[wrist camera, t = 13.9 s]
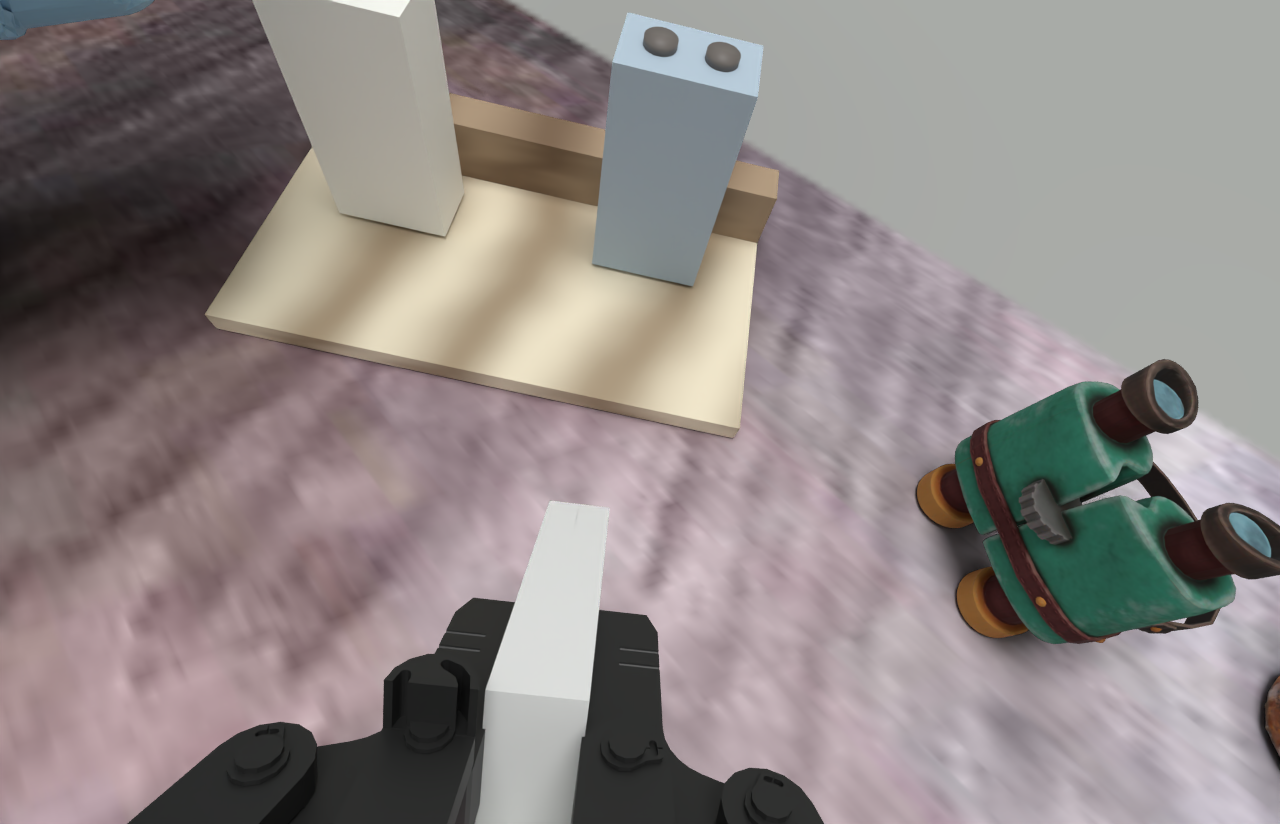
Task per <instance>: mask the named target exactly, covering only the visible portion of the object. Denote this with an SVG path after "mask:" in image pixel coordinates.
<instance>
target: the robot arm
mask: <svg viewBox="0 0 1280 824" xmlns="http://www.w3.org/2000/svg"><path fill="white" fill-rule="evenodd" d="M153 1H154V0H0V40H14V39H16V38H18V37H20V36H22V35H25V33H26V30H27V29H28V28H35V27H42V26H50V25H57V24H65V23H72V22H80V21H87V20H94V19H102V18H109V17H117V16H124V15H130V14H133V13H136V12H139V11H141V10H143V9H144V8H146V7H147V6H149V5H150V4H151V3H152V2H153ZM608 518H609V508H608V507H600V506H591V505H583V504H574V503H566V502H558V501H550V502H549V505H548V508H547V511H546V514H545V516H544V519H543V522H542V525H541V528H540V531H539V534H538V537H537V540H536V543H535V546H534V549H533V552H532V555H531V558H530V560H529V563H528V566H527V569H526V572H525V575H524V578H523V581H522V584H521V587H520V590H519V593H518V596H517V599H516V602H507V601H498V600H489V599H480V598H472V599H471V600H470V601H469V602H467V603H466V604H465V605H464V606H462V607H461V608H460V609H459V610H457V611H456V612H455V614H454V616H453V618H452V620H451V622H450V624H449V626H448V628H447V631H446V633H445V634H444V636H443V638H442V640H441V642H440V644H439V648H437V650H436V652H435V654H426V655H423V656H419V657H415V658H412V659H409V660H407V661H406V662H404V663H402V664H400V665H399V666H397V667H395V668H394V669H393V670H392V671H391V673H390V674H389V675H388V676H387V677H386V678H385V679H384V705H383V729H382V731H380V732H378V733H376V734H373V735H371V736H369V737H366V738H362V739H358V740H354V741H350V742H344V743H337V744H331V745H325V746H319V747H317V743H316V741H315V739H314V737H313V735H312V732H310V731H309V730H307V729H305V728H304V727H302V726H300V725H299V724H292V723H285V722H277V723H270V724H264V725H258V726H256V727H253V728H251V729H248V730H246V731H243V732H240V733H238V734H236V735H235V736H233V737H232V738H230V739H229V740H227V741H226V742H224V743H223V744H221V745H220V746H218V747H217V748H216V749H215V750H213V751H212V752H211V753H210V754H209V755H208V756H206V757H205V758H204V759H203V760H202V761H200V762H199V763H198V764H197V765H196V766H195V767H193V768H192V769H191V770H190V771H189V772H188V773H186V774H185V775H184V776H183V777H182V778H180V779H179V780H178V781H177V782H176V783H175V784H173V785H172V786H171V787H170V788H169V789H168V790H166V791H165V792H164V793H163V794H162V795H160V796H159V797H158V798H157V799H156V800H155V801H153V802H152V803H151V804H150V805H149V806H148V807H146V808H145V809H144V810H143V811H142V812H141V813H139V814H138V815H137V816H136V817H135V818H133V819H132V820H131V821H130V822H129V823H128V824H474V823H475V824H824V823H823V821H822V819H821V817H820V816H819V814H818V812H817V810H816V808H815V807H814V805H813V803H812V802H811V801H810V799H809V798H808V797H807V795H806V794H805V793H804V792H803V790H802V789H801V788H800V787H799V786H797V785H796V784H795V783H793V782H792V781H791V780H789V779H788V778H787V777H785V776H783V775H781V774H778V773H776V772H773V771H771V770H768V769H759V768H748V769H745V770H742V771H738V772H735V773H734V774H733V775H732V776H731V777H730V778H729V779H728V780H727V781H726V782H725V784H724V783H722V782H719V781H717V780H714V779H712V778H709V777H707V776H705V775H702V774H700V773H698V772H696V771H694V770H692V769H690V768H689V767H688V766H686V765H685V764H684V763H682V762H681V761H680V760H679V759H678V758H677V757H676V756H675V755H674V753H673V752H672V751H671V750H670V748H669V746H668V744H667V742H666V740H665V737H664V733H663V726H662V707H661V689H660V670H659V655H658V633H657V631H656V629H655V628H654V626H653V625H652V623H651V622H650V620H649V618H648V617H647V615H639V614H630V613H621V612H612V611H603V610H599V604H600V595H601V585H602V575H603V566H604V556H605V546H606V537H607V527H608ZM475 819H476V822H475Z"/></svg>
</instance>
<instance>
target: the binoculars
mask: <svg viewBox="0 0 1280 824" xmlns="http://www.w3.org/2000/svg"><path fill="white" fill-rule="evenodd" d="M1197 412H1198V396H1197V390H1196V386H1195V385H1194V383H1193V381H1192V379H1191V377H1190V376H1189V374H1188V373H1187V372H1186V371H1185V370H1184V369H1183V368H1182V367H1181V366H1180V365H1179V364H1177V363H1176V362H1173V361H1171V360H1165V359H1163V360H1158V361H1156V362H1155V363H1153V364H1151V365H1150V366H1147V367H1146V368H1144V369H1142V370H1140V371H1138V372H1136V373H1134V374H1133V375H1131V376H1129V377H1127V378H1126V379H1124V381H1123V382H1122V386H1121V390H1119V389H1118V388H1116V387H1115V386H1113V385H1111V384H1108V383H1103V382H1081V383H1078V384H1075V385H1072V386H1069V387H1067V388H1065V389H1063V390H1061V391H1059V392H1057V393H1055V394H1053V395H1051V396H1049V397H1047V398H1045V399H1043V400H1041V401H1039V402H1037V403H1035V404H1033V405H1031V406H1029V407H1026V408H1024V409H1022V410H1020V411H1018V412H1016V413H1014V414H1012V415H1010V416H1008V417H1006V418H1004V419H1002V420H994V421H991V422H988V423H986V424H985V425H983V426H981V427H980V428H978V429H976V430H975V431H974V432H973V434H972V436H970V437H968V438H966V439H964V440H963V441H961V442H960V444H959V445H958V446H957V448H956V451H955V464H945V465H943V466H940V467H939V468H937V469H935V470H933V471H931V472H929V473H928V474H926V475H925V476H924V477H923V478H922V479H921V480H920V482H919V484H918V487H917V497H918V501H919V504H920V506H921V508H922V510H923V511H924V513H925V514H926V515H927V516H928V517H929V518H930V519H932V520H933V521H934V522H936V523H938V524H940V525H942V526H945V527H949V528H961V527H965V526H967V525H969V524H972V523H974V524H975V526H976V528H977V530H978V532H979V534H982V535H984V534H988V533H991V532H993V531H996V530H998V533H999V534H996V535H993V536H991V537H988V538H986V539H985V540H984V541H983V544H984V547H985V550H986V552H987V555H988V558H989V560H990V563H991V567H986V568H983V569H979V570H976V571H973V572H971V573H969V574H967V575H966V576H965V577H964V578H963V579H962V580H961V582H960V583H959V586H958V589H957V602H958V606H959V609H960V612H961V614H962V615H963V617H964V619H965V620H966V621H967V623H968V624H969V625H970V626H971V627H972V628H974V629H975V630H976V631H977V632H979V633H981V634H983V635H985V636H989V637H992V638H1002V637H1008V636H1013V635H1018V634H1022V633H1024V632H1026V631H1028V630H1030V632H1031V633H1032V634H1034V635H1035V636H1036V637H1037V638H1039V639H1041V640H1042V641H1044V642H1048V643H1051V644H1061V643H1067V642H1068V643H1077V644H1081V643H1088V642H1095V641H1096V642H1099V643H1103V642H1104V641H1105V639H1106V638H1110V637H1113V636H1116V635H1119V634H1120V633H1121V632H1123V631H1128V630H1132V629H1139V630H1141V631H1145V632H1148V633H1164V634H1166V633H1168V632H1171V631H1177V630H1184V629H1192V628H1197V627H1202V626H1206V625H1211V624H1213V623H1214V621H1215V619H1216V617H1217V615H1218V613H1219V611H1220V609H1221V608H1222V607H1225V606H1227V605H1228V604H1230V603H1232V602H1233V600H1234V599H1235V593H1236V587H1235V585H1234V582H1233V579H1232V577H1231V574H1236V575H1238V576H1240V577H1242V578H1246V579H1259V578H1265V577H1270V576H1276V575H1280V526H1279V525H1278V524H1276V523H1275V522H1273V521H1272V520H1271V519H1269V518H1268V517H1266V516H1264V515H1263V514H1261V513H1260V512H1258V511H1256V510H1253V509H1251V508H1249V507H1246V506H1243V505H1240V504H1235V503H1225V504H1222V505H1219V506H1215V507H1212V508H1209V509H1207V510H1206V511H1204V512H1203V514H1202V516H1201V520H1197V518H1196V517H1195V515H1194V513H1193V512H1192V510H1191V509H1190V507H1189V506H1188V504H1187V502H1186V501H1185V500H1184V498H1183V497H1182V496H1181V494H1180V493H1179V492H1178V490H1177V489H1176V488H1175V486H1174V485H1173V484H1172V483H1171V481H1170V480H1169V479H1168V477H1167V476H1166V475H1165V474H1164V473H1163V472H1162V471H1161V470H1160V469H1159V467H1158V466H1157V465H1156V464H1155V463H1154V462H1153V453H1152V449H1151V446H1150V443H1149V441H1148V439H1147V437H1146V435H1148V434H1151V433H1153V432H1155V431H1156V432H1159V433H1163V434H1169V433H1173V432H1176V431H1178V430H1181V429H1183V428H1186V427H1188V426H1189V425H1191V424H1192V422H1193V421H1194V420H1195V418H1196V415H1197ZM1136 479H1137V480H1138V481H1139V482H1140V483H1141V484H1142V485H1143V487H1144V488H1145V489H1146V491H1147V492H1148V493H1149V495H1150V496H1151V497H1150V498H1145V499H1141V500H1138V501H1134V500H1132V499H1130V498H1128V497H1126V496H1121V495H1120V496H1115V497H1110V498H1105V499H1101V500H1098V501H1095V502H1091V503H1088V504H1085V505H1082V502H1084V501H1087V500H1089V499H1092V498H1094V497H1096V496H1099V495H1101V494H1103V493H1106V492H1108V491H1110V490H1113V489H1115V488H1117V487H1120V486H1122V485H1125V484H1127V483H1129V482H1132V481H1134V480H1136ZM1022 524H1023V525H1022ZM1019 525H1021V526H1019ZM1017 526H1018V527H1017ZM1183 618H1187V619H1186V621H1185V623H1184V624H1182V623H1176V622H1171V621H1174V620H1178V619H1183Z"/></svg>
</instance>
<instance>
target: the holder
mask: <svg viewBox="0 0 1280 824" xmlns="http://www.w3.org/2000/svg"><path fill="white" fill-rule="evenodd" d="M449 97H450V103H451V110H452V116H453V123H454V129H455V135H456V142H457V148H458V155H459V161H460V167H461V174H462V180H463V187H464V195H463V197H462V199H461V202H460V204H459V206H458V209H457V211H456V213H455V216H454V218H453V220H452V222H451V225H450V227H449V229H448V232H447V234H446V236H440V235H436V234H431V233H427V232H422V231H418V230H413V229H409V228H405V227H400V226H396V225H391V224H387V223H382V222H378V221H373V220H369V219H364V218H360V217H355V216H351V215H347V214H342V213H339V210H338V208H337V206H336V203H335V201H334V198H333V196H332V193H331V191H330V189H329V186H328V184H327V181H326V179H325V176H324V174H323V171H322V169H321V167H320V164H319V162H318V159H317V157H316V154H315V152H314V150H313V147H312V148H311V149H310V151H309V152H308V154H307V156H306V157H305V159H304V160H303V162H302V163H301V165H300V166H299V168H298V170H297V171H296V173H295V174H294V176H293V177H292V179H291V180H290V182H289V184H288V185H287V187H286V188H285V190H284V191H283V193H282V195H281V196H280V198H279V199H278V201H277V202H276V204H275V205H274V207H273V209H272V210H271V212H270V213H269V215H268V216H267V218H266V219H265V221H264V223H263V224H262V226H261V227H260V229H259V230H258V232H257V234H256V235H255V237H254V238H253V240H252V241H251V243H250V244H249V246H248V248H247V249H246V251H245V252H244V254H243V255H242V257H241V258H240V260H239V262H238V263H237V265H236V266H235V268H234V269H233V271H232V273H231V274H230V276H229V277H228V279H227V280H226V282H225V283H224V285H223V287H222V288H221V290H220V291H219V293H218V294H217V296H216V297H215V299H214V301H213V302H212V304H211V305H210V307H209V308H208V310H207V312H206V313H205V316H206V317H207V318H208V319H209V320H210V321H211V323H212V324H213V325H214V326H215V327H216V328H217V329H222V330H227V331H231V332H236V333H241V334H245V335H250V336H255V337H260V338H264V339H269V340H274V341H278V342H283V343H288V344H292V345H297V346H302V347H307V348H311V349H316V350H321V351H325V352H330V353H335V354H339V355H344V356H349V357H354V358H358V359H363V360H368V361H372V362H377V363H382V364H387V365H391V366H396V367H401V368H405V369H410V370H415V371H419V372H424V373H429V374H434V375H438V376H443V377H448V378H452V379H457V380H462V381H466V382H471V383H476V384H481V385H485V386H490V387H495V388H499V389H504V390H509V391H514V392H518V393H523V394H528V395H532V396H537V397H542V398H546V399H551V400H556V401H561V402H565V403H570V404H575V405H579V406H584V407H589V408H593V409H598V410H603V411H608V412H612V413H617V414H622V415H626V416H631V417H636V418H641V419H645V420H650V421H655V422H659V423H664V424H669V425H673V426H678V427H683V428H688V429H692V430H697V431H702V432H706V433H711V434H716V435H720V436H725V437H730V438H734V436H735V435H736V433H737V432H738V430H739V429H740V420H741V409H742V398H743V388H744V377H745V367H746V356H747V345H748V335H749V324H750V313H751V303H752V292H753V282H754V271H755V260H756V250H757V242H758V240H759V238H760V236H761V233H762V231H763V229H764V227H765V224H766V222H767V220H768V218H769V215H770V213H771V211H772V209H773V206H774V204H775V202H776V200H777V190H778V177H779V171H778V170H774V169H769V168H765V167H761V166H757V165H753V164H748V163H744V162H740V161H736V162H735V165H734V168H733V171H732V174H731V177H730V180H729V183H728V186H727V188H726V191H725V194H724V197H723V200H722V203H721V206H720V209H719V212H718V215H717V218H716V221H715V224H714V226H713V229H712V232H711V235H710V238H709V241H708V244H707V247H706V250H705V253H704V256H703V259H702V262H701V264H700V267H699V270H698V273H697V276H696V279H695V282H694V285H693V286H689V285H684V284H680V283H675V282H671V281H666V280H662V279H657V278H653V277H649V276H644V275H640V274H635V273H631V272H626V271H622V270H617V269H613V268H608V267H604V266H600V265H595V264H592V258H593V249H594V239H595V229H596V219H597V209H598V199H599V189H600V180H601V170H602V160H603V150H604V140H605V130H604V129H600V128H596V127H591V126H587V125H583V124H579V123H574V122H570V121H566V120H562V119H557V118H553V117H549V116H545V115H541V114H536V113H532V112H528V111H524V110H519V109H515V108H511V107H507V106H502V105H498V104H494V103H490V102H485V101H481V100H477V99H473V98H468V97H464V96H460V95H456V94H451V93H449Z"/></svg>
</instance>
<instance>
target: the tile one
mask: <svg viewBox="0 0 1280 824" xmlns="http://www.w3.org/2000/svg"><path fill="white" fill-rule="evenodd" d="M252 1H253V3H254V6H255V8H256V11H257V13H258V16H259V18H260V21H261V23H262V25H263V28H264V30H265V33H266V35H267V38H268V40H269V42H270V45H271V47H272V50H273V52H274V55H275V57H276V59H277V62H278V64H279V67H280V69H281V72H282V74H283V77H284V79H285V81H286V84H287V86H288V89H289V91H290V94H291V96H292V98H293V101H294V103H295V106H296V108H297V111H298V113H299V115H300V118H301V120H302V123H303V125H304V128H305V130H306V133H307V135H308V137H309V140H310V142H311V145H312V147H313V150H314V152H315V154H316V157H317V159H318V162H319V164H320V167H321V169H322V171H323V174H324V176H325V179H326V181H327V184H328V186H329V189H330V191H331V193H332V196H333V198H334V201H335V203H336V206H337V208H338V210H339V213H342V214H347V215H351V216H355V217H360V218H364V219H369V220H373V221H378V222H382V223H387V224H391V225H396V226H400V227H405V228H409V229H413V230H418V231H422V232H427V233H431V234H436V235H440V236H446V234H447V232H448V229H449V227H450V225H451V222H452V220H453V218H454V216H455V213H456V211H457V209H458V206H459V204H460V202H461V199H462V197H463V195H464V187H463V180H462V174H461V167H460V161H459V155H458V148H457V142H456V135H455V129H454V123H453V116H452V110H451V103H450V97H449V90H448V84H447V78H446V71H445V65H444V58H443V52H442V46H441V39H440V33H439V26H438V20H437V14H436V7H435V1H434V0H252Z"/></svg>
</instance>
